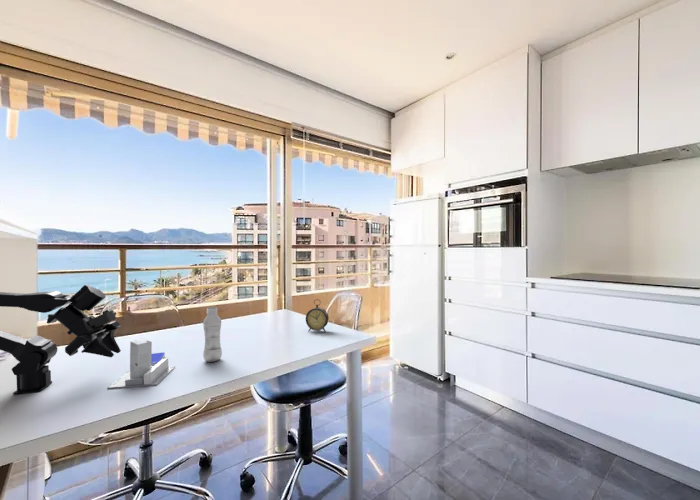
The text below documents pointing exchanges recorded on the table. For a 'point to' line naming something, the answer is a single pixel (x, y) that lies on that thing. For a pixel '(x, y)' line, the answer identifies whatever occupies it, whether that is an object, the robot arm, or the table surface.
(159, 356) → the hard drive
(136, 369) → the skincare box
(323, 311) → the alarm clock
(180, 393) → the table surface
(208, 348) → the plastic bottle
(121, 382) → the rail base
